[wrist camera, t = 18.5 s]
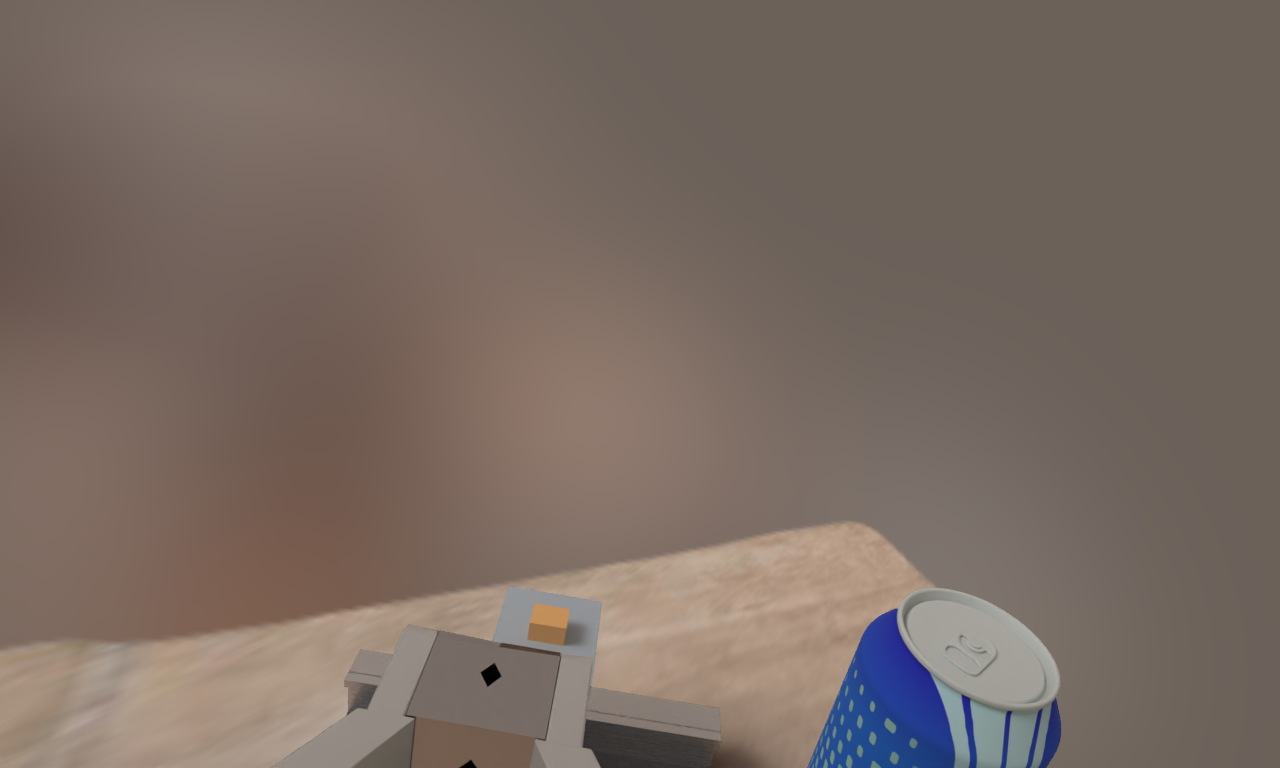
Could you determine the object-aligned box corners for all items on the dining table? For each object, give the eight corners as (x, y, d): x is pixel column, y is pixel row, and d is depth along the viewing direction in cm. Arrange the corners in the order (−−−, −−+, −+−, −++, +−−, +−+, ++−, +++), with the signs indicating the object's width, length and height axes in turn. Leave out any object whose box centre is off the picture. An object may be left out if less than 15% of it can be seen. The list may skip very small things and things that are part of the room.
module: (463, 835, 34) (485, 651, 29) (488, 741, 39) (511, 569, 34) (556, 850, 34) (595, 669, 29) (570, 755, 39) (605, 585, 34)
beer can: (766, 786, 40) (852, 563, 33) (906, 799, 41) (1018, 584, 34) (801, 959, 33) (922, 716, 26) (973, 970, 33) (1133, 738, 27)
